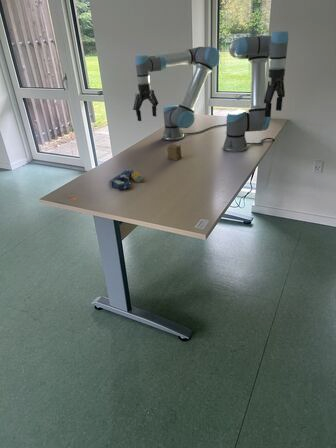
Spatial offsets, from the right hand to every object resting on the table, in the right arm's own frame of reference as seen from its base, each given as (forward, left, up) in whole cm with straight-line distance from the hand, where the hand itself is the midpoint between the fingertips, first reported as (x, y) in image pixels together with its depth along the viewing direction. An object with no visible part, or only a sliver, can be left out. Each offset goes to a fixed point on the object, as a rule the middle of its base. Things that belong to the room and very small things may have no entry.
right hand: (273, 113), depth 171 cm
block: (+44, -39, -30) cm, 66 cm away
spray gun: (+78, -14, -30) cm, 85 cm away
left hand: (+55, -60, -8) cm, 82 cm away
